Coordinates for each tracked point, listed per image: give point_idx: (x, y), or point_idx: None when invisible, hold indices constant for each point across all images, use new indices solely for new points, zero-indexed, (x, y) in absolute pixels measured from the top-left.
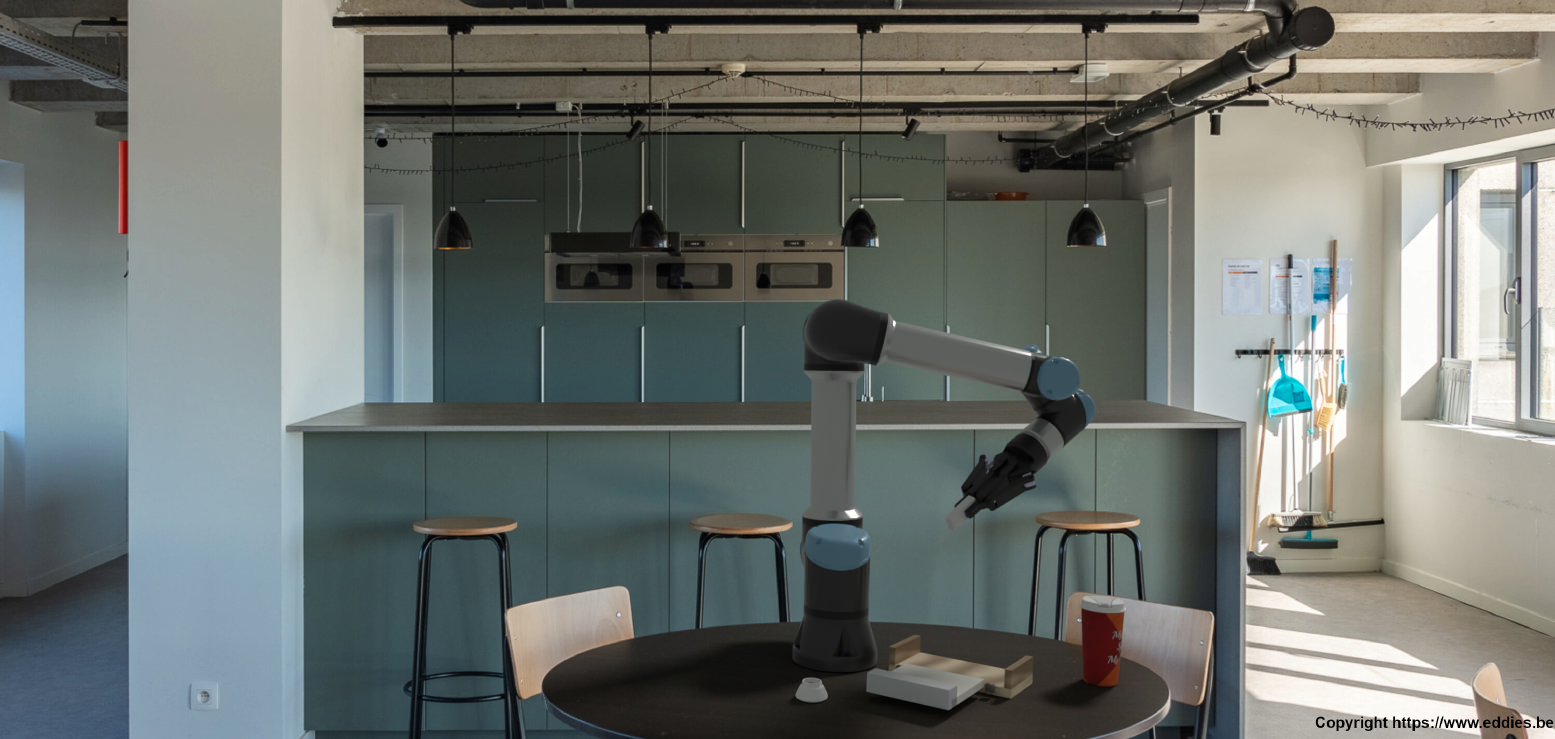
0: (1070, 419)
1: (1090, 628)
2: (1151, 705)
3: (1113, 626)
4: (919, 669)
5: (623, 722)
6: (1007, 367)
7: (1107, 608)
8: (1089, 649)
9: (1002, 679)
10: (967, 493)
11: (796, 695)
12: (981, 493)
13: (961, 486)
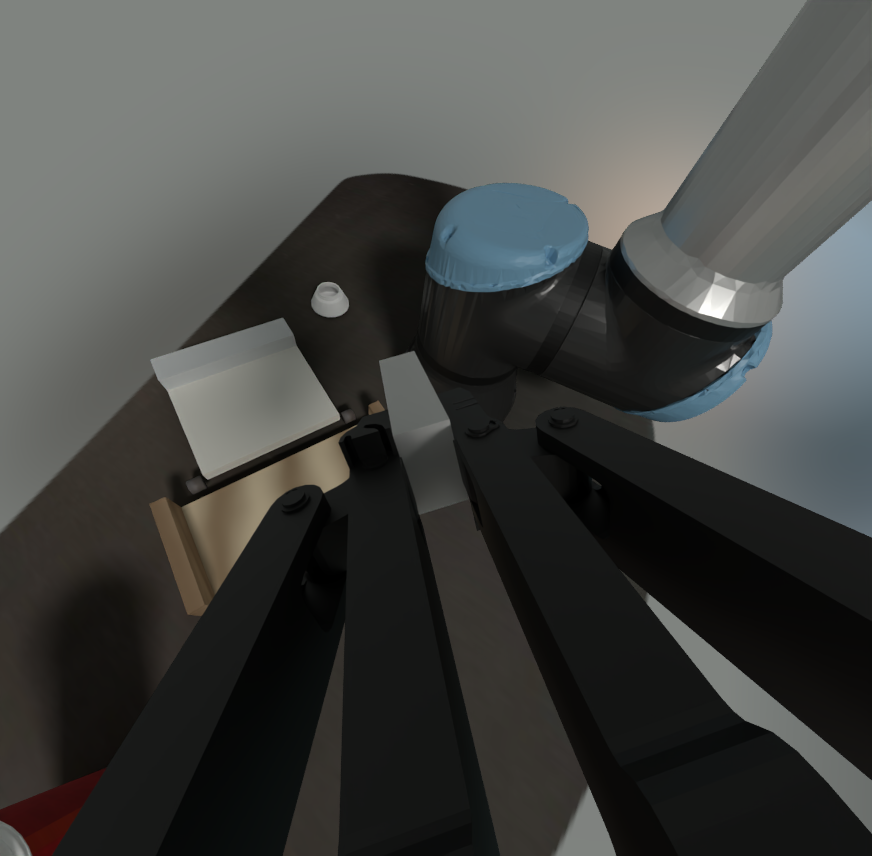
0: None
1: (4, 808)
2: None
3: None
4: (303, 414)
5: (347, 186)
6: None
7: None
8: (62, 785)
9: (217, 534)
10: (478, 421)
11: (334, 290)
12: (397, 479)
13: (579, 409)
